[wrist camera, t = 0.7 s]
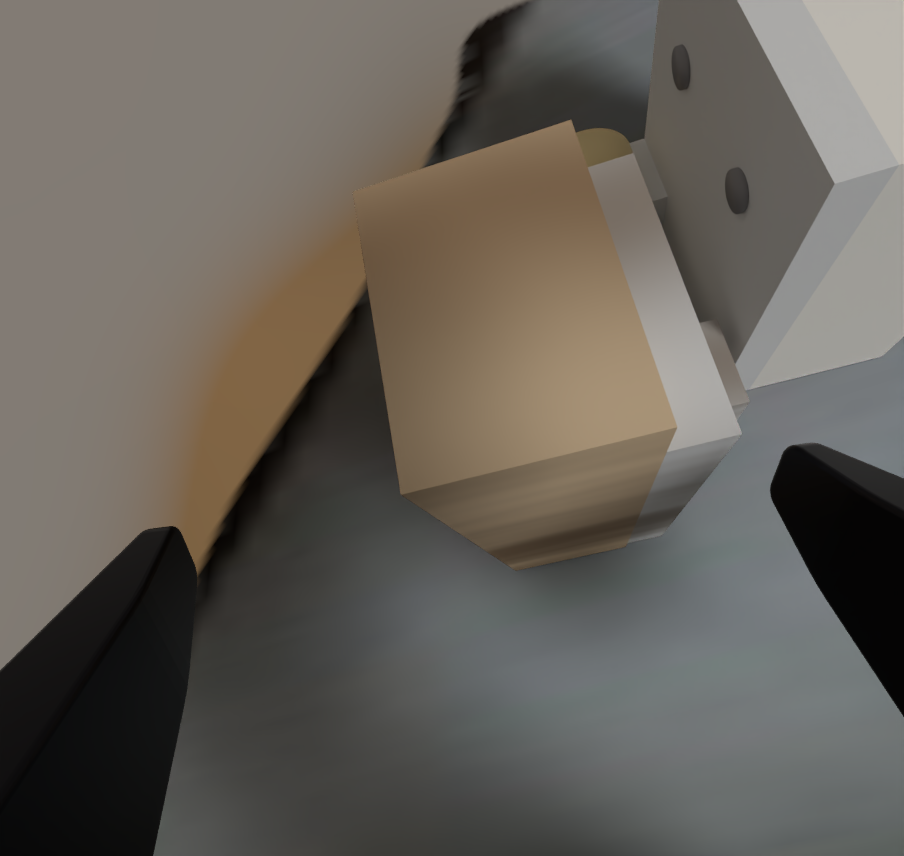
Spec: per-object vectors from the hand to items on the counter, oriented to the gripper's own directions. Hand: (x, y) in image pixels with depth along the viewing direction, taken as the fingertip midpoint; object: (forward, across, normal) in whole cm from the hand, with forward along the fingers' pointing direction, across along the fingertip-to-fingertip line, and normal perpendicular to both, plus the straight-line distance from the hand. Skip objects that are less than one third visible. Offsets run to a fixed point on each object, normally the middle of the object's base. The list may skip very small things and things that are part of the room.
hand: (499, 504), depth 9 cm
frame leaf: (+12, -10, +2) cm, 15 cm away
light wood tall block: (+8, -5, +6) cm, 11 cm away
